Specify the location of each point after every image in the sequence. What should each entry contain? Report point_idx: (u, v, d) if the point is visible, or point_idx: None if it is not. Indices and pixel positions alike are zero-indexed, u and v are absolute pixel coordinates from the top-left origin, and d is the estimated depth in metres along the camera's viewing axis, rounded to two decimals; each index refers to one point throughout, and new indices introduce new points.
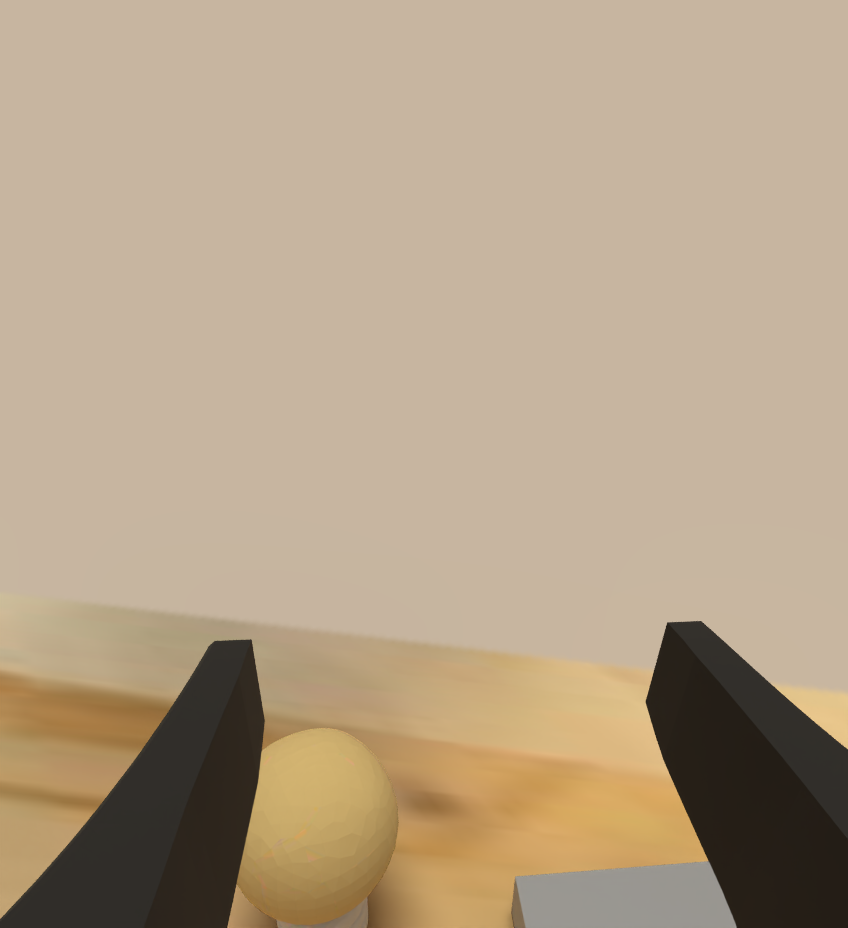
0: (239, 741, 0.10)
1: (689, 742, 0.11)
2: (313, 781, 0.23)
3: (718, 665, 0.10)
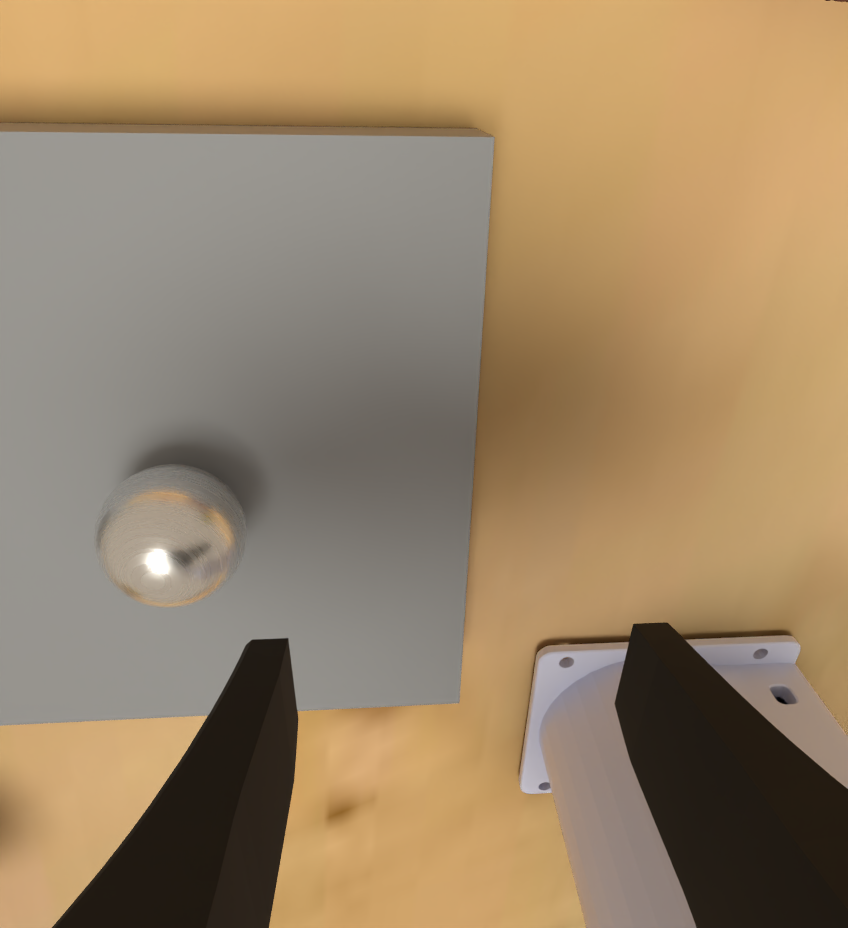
0: (279, 739, 0.10)
1: (653, 743, 0.11)
2: None
3: (680, 667, 0.10)
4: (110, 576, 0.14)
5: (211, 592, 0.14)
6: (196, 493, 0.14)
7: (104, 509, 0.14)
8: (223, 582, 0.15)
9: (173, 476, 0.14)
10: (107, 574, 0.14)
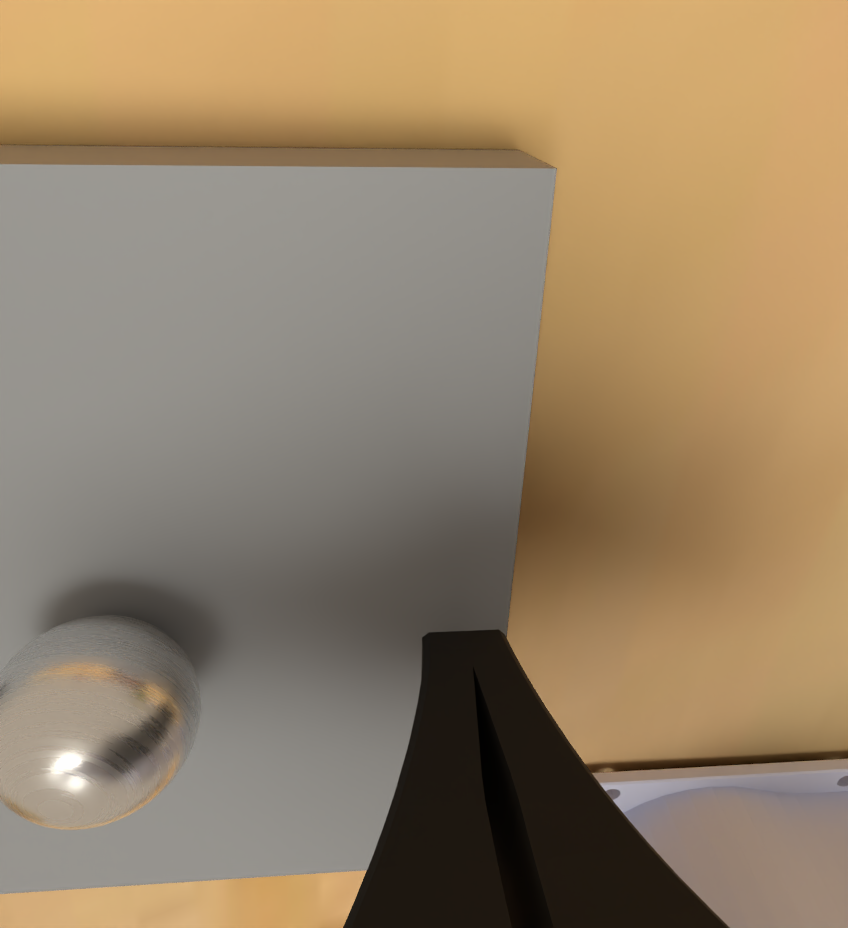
0: None
1: None
2: None
3: (491, 675, 0.10)
4: None
5: (147, 803, 0.10)
6: (122, 674, 0.10)
7: None
8: (164, 787, 0.10)
9: (90, 646, 0.10)
10: None
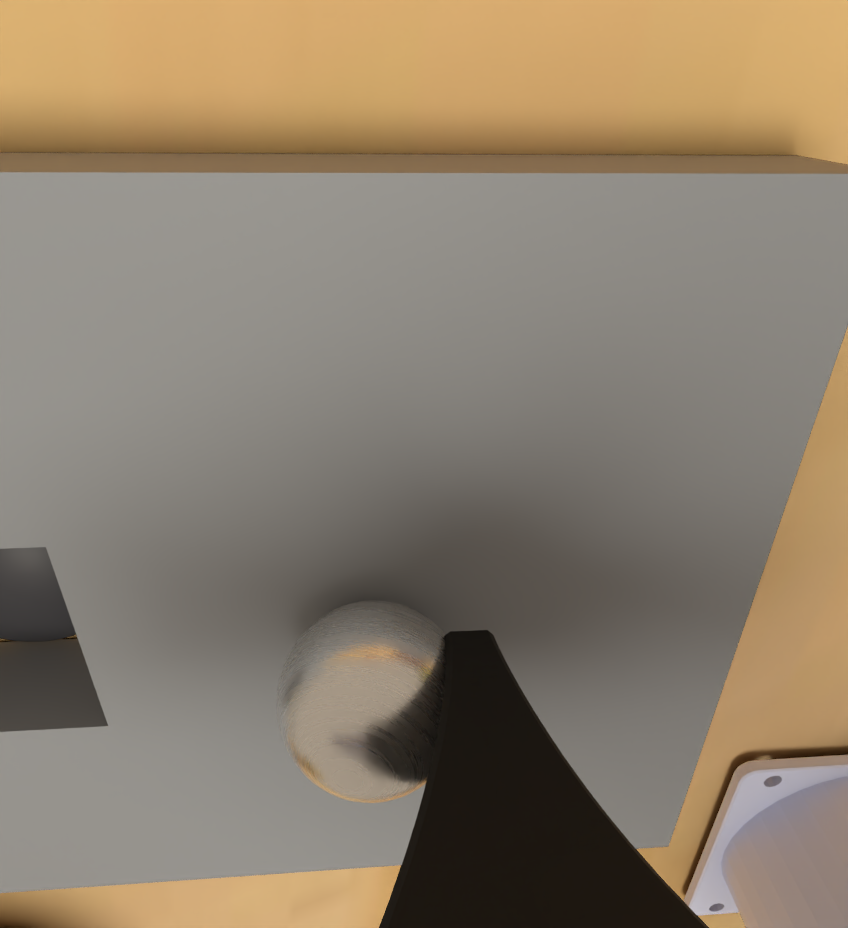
0: None
1: None
2: None
3: (478, 676, 0.10)
4: (292, 755, 0.10)
5: (415, 790, 0.11)
6: (417, 662, 0.10)
7: (295, 662, 0.10)
8: None
9: (387, 630, 0.10)
10: (289, 750, 0.10)
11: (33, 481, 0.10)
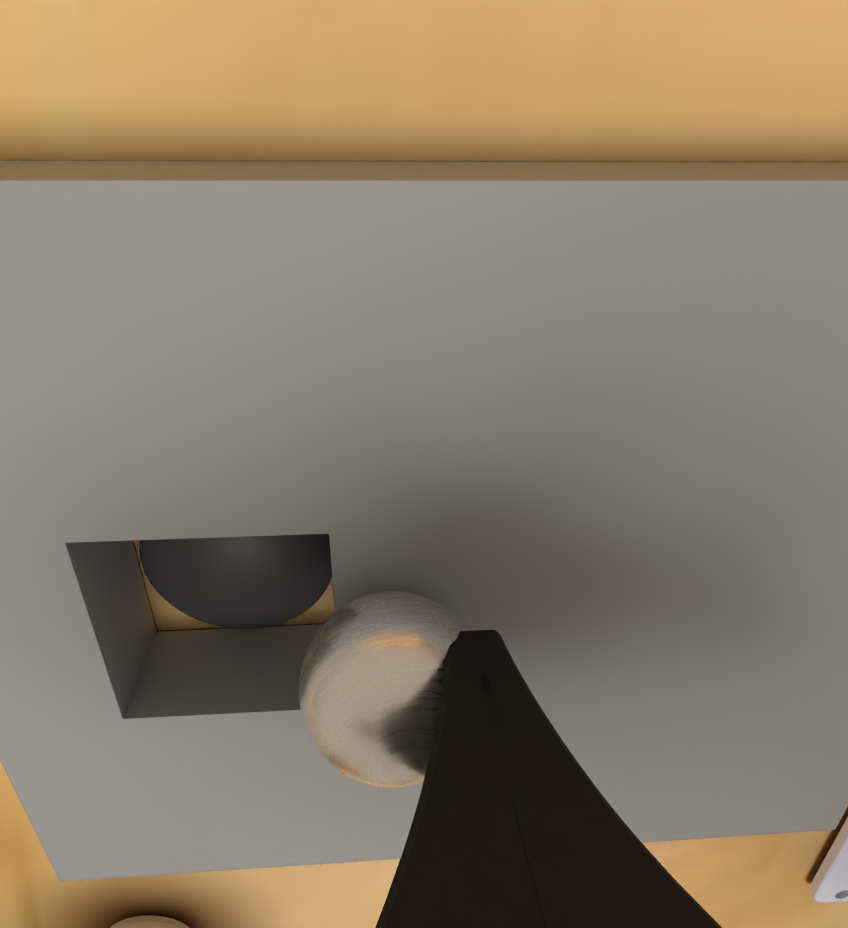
0: None
1: None
2: None
3: (485, 676, 0.10)
4: None
5: None
6: (342, 620, 0.11)
7: (453, 615, 0.11)
8: None
9: (378, 622, 0.11)
10: None
11: (333, 470, 0.11)
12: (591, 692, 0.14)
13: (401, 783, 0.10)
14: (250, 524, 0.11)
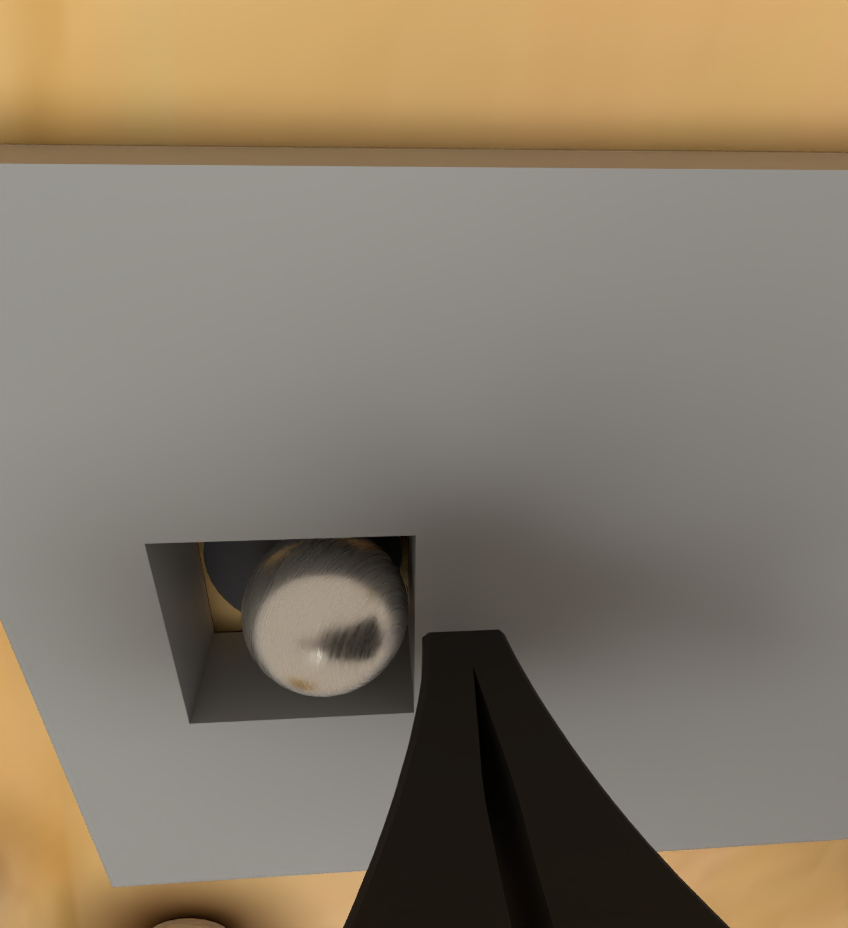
0: None
1: None
2: None
3: (490, 676, 0.10)
4: (344, 676, 0.12)
5: None
6: (362, 541, 0.13)
7: (298, 616, 0.11)
8: None
9: (329, 541, 0.12)
10: (337, 678, 0.12)
11: (426, 470, 0.11)
12: (667, 698, 0.14)
13: None
14: (336, 525, 0.11)
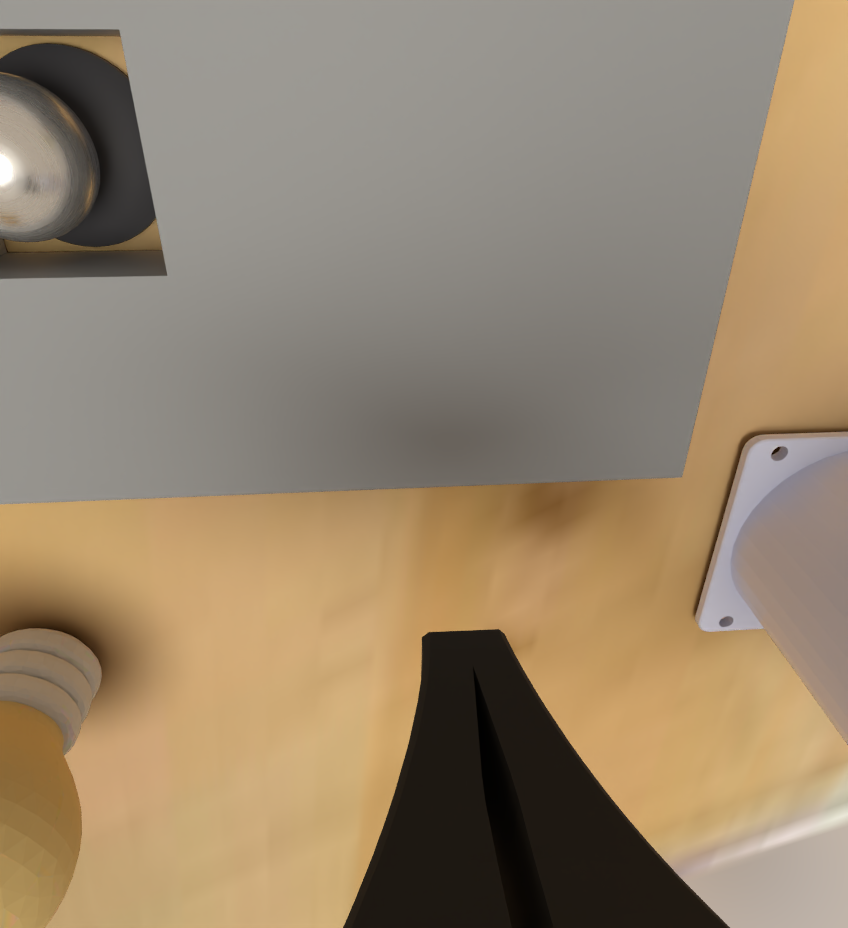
0: None
1: None
2: None
3: (490, 676, 0.10)
4: None
5: (66, 209, 0.14)
6: (29, 85, 0.13)
7: None
8: (78, 200, 0.14)
9: None
10: None
11: None
12: (410, 268, 0.15)
13: None
14: (40, 12, 0.12)
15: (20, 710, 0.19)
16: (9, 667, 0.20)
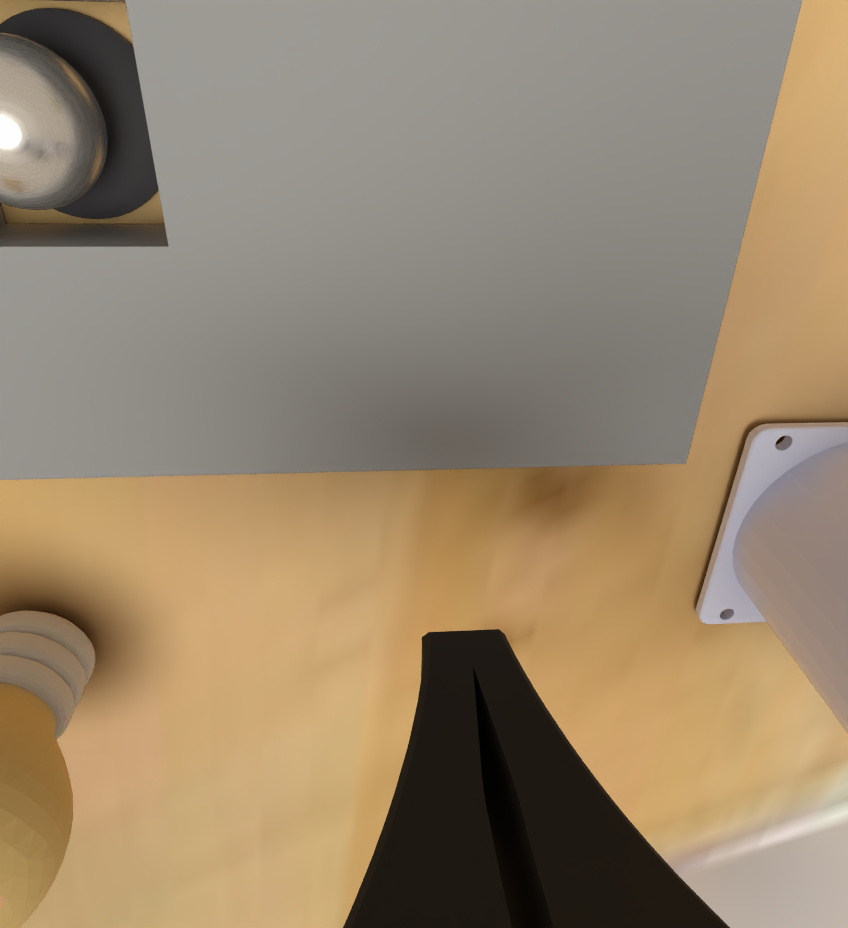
0: None
1: None
2: None
3: (490, 676, 0.10)
4: None
5: (78, 175, 0.13)
6: (39, 47, 0.13)
7: None
8: (89, 166, 0.14)
9: None
10: None
11: None
12: (415, 242, 0.14)
13: None
14: None
15: (11, 692, 0.19)
16: (1, 649, 0.20)
